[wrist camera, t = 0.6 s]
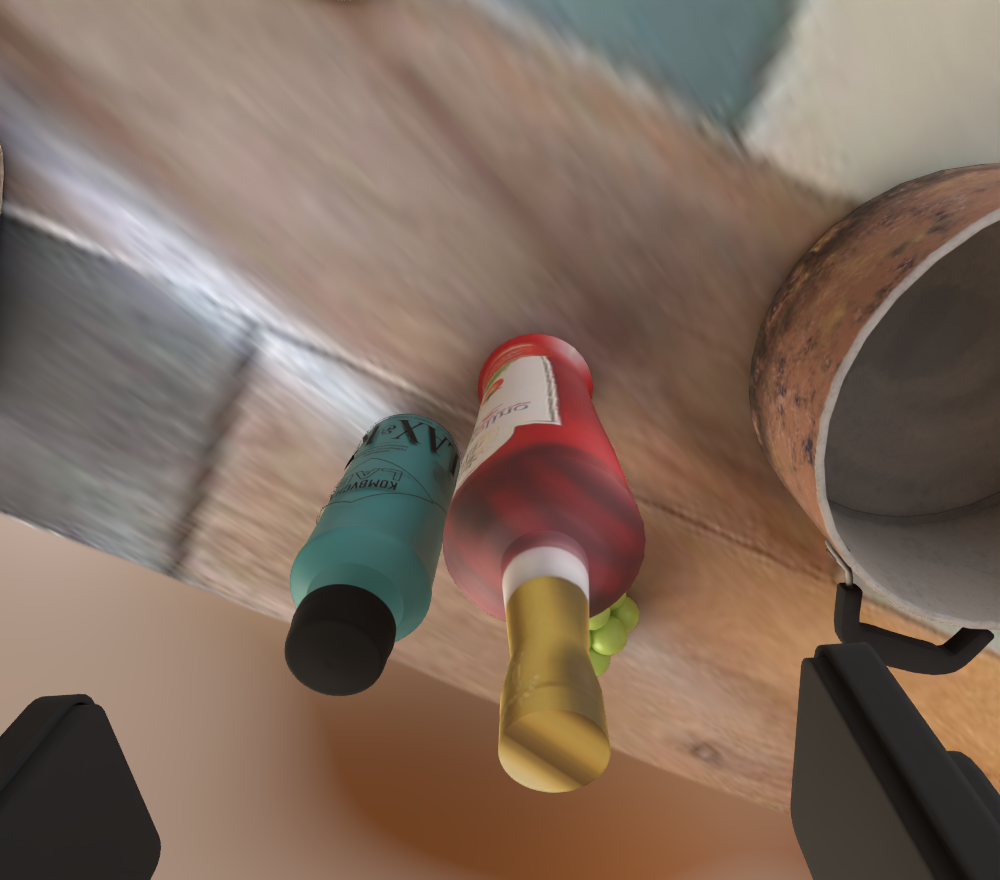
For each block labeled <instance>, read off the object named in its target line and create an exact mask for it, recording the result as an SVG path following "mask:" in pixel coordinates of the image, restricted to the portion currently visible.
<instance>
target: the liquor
mask: <svg viewBox="0 0 1000 880" xmlns="http://www.w3.org/2000/svg"><path fill="white" fill-rule="evenodd" d="M592 391H593V384H592V377H591V373H590V370H589V368H588V365H587V363H586V362H585V360H584V359H583V357H582V356H581V355H580V353H579V352H578V351H577V350H576V349H575V348H574V347H572V346H571V345H569V344H568V343H566V342H565V341H563V340H561V339H558V338H556V337H553V336H548V335H544V334H529V335H523V336H519V337H516V338H513V339H511V340H509V341H507V342H505V343H504V344H502V345H501V346H499V347H498V348H497V349H496V350H495V351H494V352H493V353H492V354H491V355H490V356H489V358H488V359H487V361H486V362H485V363H484V366H483V368H482V370H481V373H480V377H479V382H478V396H479V401H480V405H481V407H480V411H479V414H478V418H477V421H476V425H475V428H474V431H473V434H472V437H471V440H470V442H469V445H468V448H467V451H466V454H465V456H464V459H463V462H462V466H461V469H460V473H459V477H458V480H457V484H456V487H455V491H454V494H453V498H452V501H451V504H450V507H449V511H448V514H447V517H446V521H445V526H444V531H443V553H444V557H445V561H446V565H447V569H448V571H449V573H450V575H451V577H452V579H453V581H454V583H455V584H456V586H457V587H458V588H459V589H460V591H461V592H462V593H463V594H464V596H465V597H466V598H467V599H468V600H470V601H471V602H472V603H473V604H474V605H475V606H477V607H478V608H479V609H481V610H482V611H484V612H486V613H487V614H489V615H491V616H493V617H494V618H497V619H499V620H502V621H505V622H506V623H507V632H508V641H509V649H510V658H511V661H510V664H509V668H508V671H507V675H506V678H505V681H504V685H503V688H502V692H501V699H500V724H499V752H498V754H499V758H500V762H501V764H502V766H503V768H504V770H505V771H506V772H507V773H508V774H509V776H510V777H512V778H513V779H514V780H516V781H517V782H518V783H520V784H522V785H524V786H526V787H528V788H531V789H534V790H538V791H544V792H565V791H571V790H575V789H578V788H581V787H583V786H585V785H588V784H589V783H590V782H592V781H594V780H595V779H596V778H597V777H598V776H599V775H600V774H601V773H602V772H603V771H604V769H605V768H606V766H607V764H608V762H609V759H610V751H611V749H610V742H609V735H608V729H607V722H606V715H605V708H604V702H603V695H602V690H601V687H600V684H599V682H598V679H597V676H596V673H595V671H594V668H593V665H592V663H591V660H590V657H589V619H590V618H592V617H594V616H596V615H598V614H600V613H602V612H603V611H605V610H606V609H607V608H609V607H610V606H611V605H613V604H614V603H616V602H617V601H618V600H619V599H620V598H621V596H622V595H623V594H624V593H625V592H626V591H627V590H628V589H629V588H630V586H631V584H632V583H633V581H634V579H635V578H636V576H637V574H638V572H639V569H640V566H641V563H642V561H643V558H644V549H645V532H644V524H643V520H642V518H641V515H640V512H639V510H638V507H637V504H636V502H635V500H634V497H633V495H632V493H631V491H630V488H629V486H628V484H627V481H626V479H625V476H624V474H623V471H622V469H621V466H620V464H619V461H618V459H617V456H616V454H615V451H614V449H613V447H612V445H611V443H610V441H609V439H608V437H607V435H606V433H605V431H604V429H603V427H602V424H601V422H600V420H599V418H598V416H597V413H596V411H595V408H594V406H593V403H592V401H591V399H592Z"/></svg>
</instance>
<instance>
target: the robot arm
mask: <svg viewBox="0 0 1000 880" xmlns="http://www.w3.org/2000/svg"><path fill="white" fill-rule="evenodd" d="M791 818H792V823H793V827H794V831H795V834H796V837H797V840H798V843H799V845H800V848H801V850H802V853H803V855H804V858H805V860H806V862H807V865H808V868H809V870H810V873H811V875H812V878H813V880H1000V795H999V793H998V792H997V791H996V789H995V788H994V787H993V785H992V784H991V783H990V781H989V780H988V779H987V777H986V776H985V775H984V773H983V772H982V771H981V770H980V768H979V767H978V766H977V765H976V764H975V763H974V762H973V761H972V760H971V758H969V757H967V756H966V755H964V754H963V753H961V752H958V751H946V749H945V748H944V747H943V745H942V744H941V742H940V741H939V740H938V738H937V737H936V735H935V734H934V732H933V731H932V730H931V728H930V727H929V725H928V724H927V723H926V721H925V720H924V718H923V717H922V716H921V714H920V713H919V711H918V710H917V709H916V707H915V706H914V704H913V703H912V702H911V700H910V699H909V697H908V696H907V695H906V693H905V692H904V690H903V689H902V688H901V686H900V685H899V683H898V682H897V681H896V679H895V678H894V676H893V675H892V674H891V672H890V671H889V669H888V668H887V667H886V665H885V664H884V662H883V661H882V659H881V658H880V657H879V655H878V654H877V652H876V651H875V650H874V649H873V648H872V646H871V645H870V644H868V643H866V642H859V643H844V644H829V645H820V646H818V647H817V648H816V650H815V655H814V658H804V659H803V661H802V665H801V676H800V689H799V702H798V715H797V728H796V741H795V754H794V767H793V779H792V792H791ZM160 844H161V843H160V838H159V835H158V833H157V831H156V828H155V826H154V824H153V821H152V819H151V817H150V814H149V812H148V810H147V807H146V805H145V803H144V800H143V798H142V796H141V794H140V791H139V789H138V787H137V784H136V782H135V780H134V778H133V775H132V773H131V771H130V768H129V766H128V764H127V761H126V759H125V757H124V755H123V752H122V750H121V748H120V745H119V743H118V741H117V738H116V736H115V734H114V732H113V729H112V727H111V725H110V722H109V720H108V718H107V716H106V713H105V711H104V710H103V708H102V707H101V706H99V705H97V704H95V703H94V701H93V700H92V698H90V697H89V696H87V695H86V694H76V695H60V696H45V697H40V698H38V699H35V700H34V701H33V702H32V703H31V704H29V705H28V706H27V707H26V708H25V710H24V711H23V712H22V713H21V714H20V715H19V716H18V717H17V719H16V720H15V721H14V722H13V723H12V724H11V725H10V726H9V727H8V728H7V730H6V731H5V732H4V733H3V734H2V735H1V736H0V880H150V879H151V877H152V875H153V873H154V871H155V869H156V867H157V864H158V861H159V857H160V850H161V845H160Z"/></svg>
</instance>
